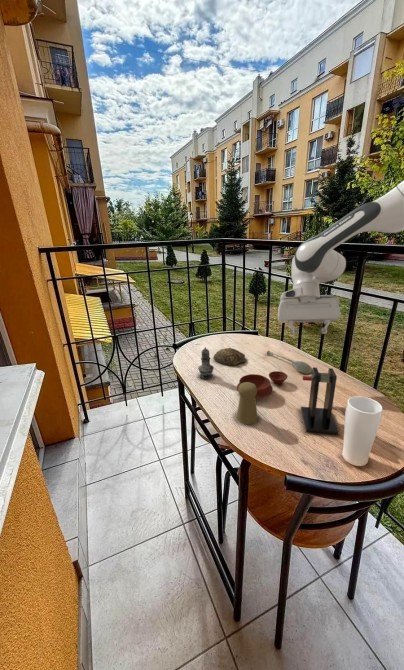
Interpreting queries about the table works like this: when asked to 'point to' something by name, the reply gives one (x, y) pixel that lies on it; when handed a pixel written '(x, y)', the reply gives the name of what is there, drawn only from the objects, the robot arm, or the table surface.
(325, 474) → the table surface
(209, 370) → the grey tall knobbed piece
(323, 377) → the lever
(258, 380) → the pottery
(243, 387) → the olive pawn figure
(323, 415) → the bracket
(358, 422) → the drinking glass
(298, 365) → the soupspoon
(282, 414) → the table surface
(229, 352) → the brown rounded lump
